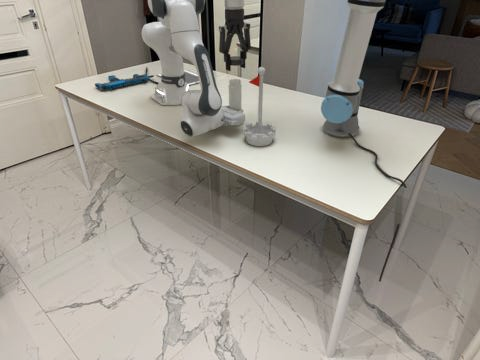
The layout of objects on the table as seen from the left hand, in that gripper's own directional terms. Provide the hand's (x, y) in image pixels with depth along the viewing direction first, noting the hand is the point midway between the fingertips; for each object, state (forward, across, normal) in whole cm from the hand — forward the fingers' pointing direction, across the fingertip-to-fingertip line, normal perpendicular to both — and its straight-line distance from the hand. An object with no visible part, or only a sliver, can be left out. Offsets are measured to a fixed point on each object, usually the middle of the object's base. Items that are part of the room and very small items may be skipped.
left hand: (236, 108), depth 154 cm
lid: (-1, 0, -22) cm, 22 cm away
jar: (-1, 0, +7) cm, 7 cm away
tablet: (+28, +74, +7) cm, 79 cm away
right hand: (-1, 0, -18) cm, 18 cm away
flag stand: (-7, -20, +7) cm, 22 cm away
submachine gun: (-3, +93, +7) cm, 93 cm away
